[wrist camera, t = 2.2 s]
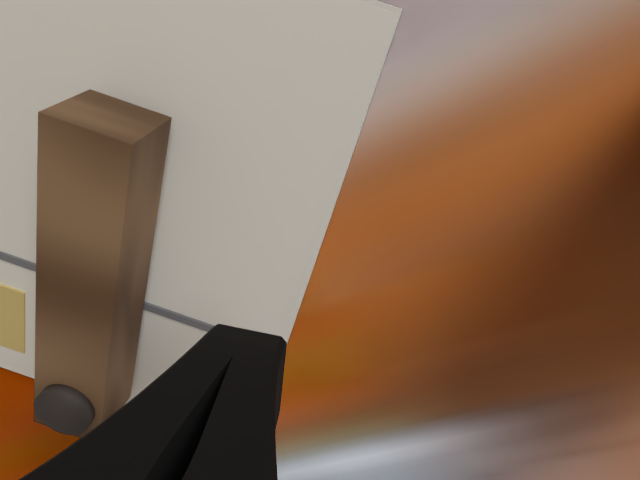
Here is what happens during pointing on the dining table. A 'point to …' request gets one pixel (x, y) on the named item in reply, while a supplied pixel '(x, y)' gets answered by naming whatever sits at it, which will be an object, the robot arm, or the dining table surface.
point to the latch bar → (93, 253)
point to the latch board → (196, 148)
